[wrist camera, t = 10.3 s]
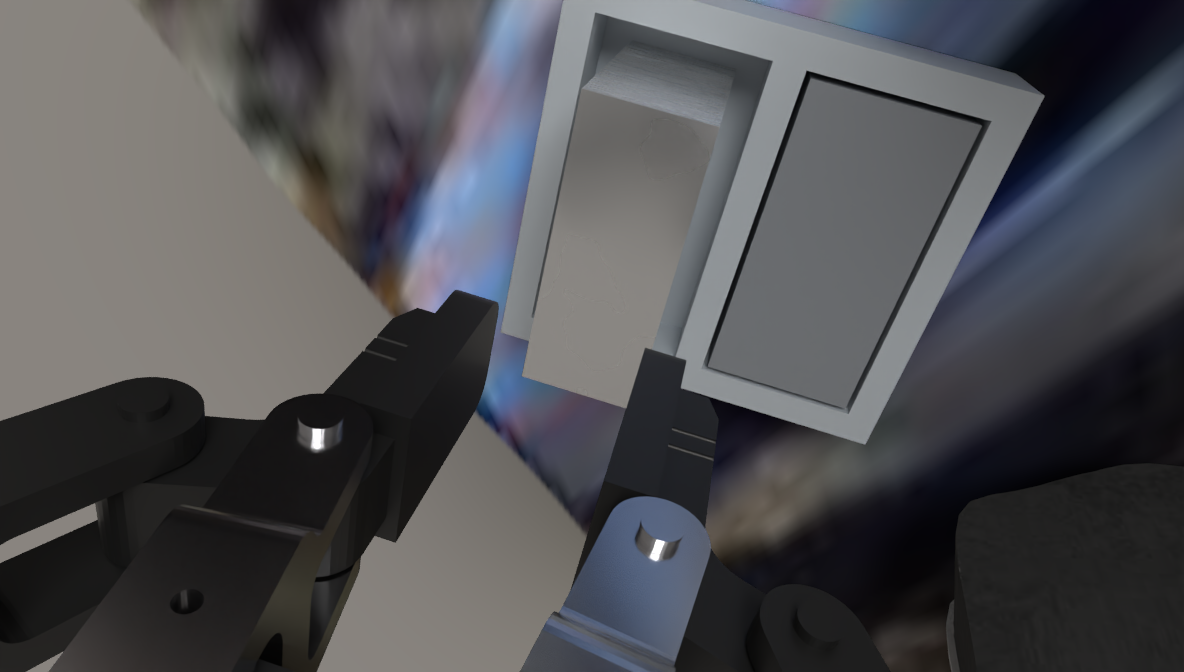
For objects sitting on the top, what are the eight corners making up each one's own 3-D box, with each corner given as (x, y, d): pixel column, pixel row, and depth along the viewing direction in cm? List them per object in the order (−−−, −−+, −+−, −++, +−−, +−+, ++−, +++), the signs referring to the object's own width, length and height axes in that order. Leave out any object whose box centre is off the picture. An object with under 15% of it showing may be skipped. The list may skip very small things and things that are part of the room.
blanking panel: (632, 40, 21) (581, 88, 16) (736, 69, 21) (719, 127, 15) (577, 274, 24) (521, 376, 19) (665, 300, 24) (633, 410, 19)
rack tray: (592, -42, 21) (569, -34, 18) (1015, 73, 20) (1044, 96, 18) (522, 310, 26) (497, 349, 24) (851, 410, 25) (856, 460, 23)
